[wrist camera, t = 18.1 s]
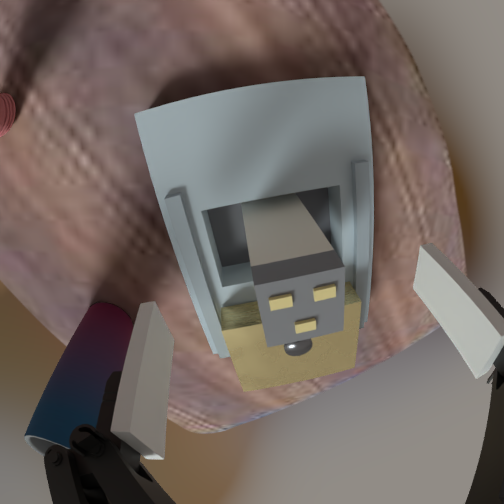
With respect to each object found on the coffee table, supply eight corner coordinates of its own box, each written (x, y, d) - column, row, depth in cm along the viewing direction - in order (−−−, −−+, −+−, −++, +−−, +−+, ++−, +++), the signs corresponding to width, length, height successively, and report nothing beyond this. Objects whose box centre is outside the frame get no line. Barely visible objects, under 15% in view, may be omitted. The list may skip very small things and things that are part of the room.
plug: (240, 203, 21) (254, 288, 12) (295, 192, 21) (346, 269, 12) (250, 250, 23) (267, 350, 14) (300, 240, 23) (344, 332, 14)
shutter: (221, 307, 22) (221, 343, 19) (349, 281, 22) (367, 312, 19) (241, 370, 26) (244, 402, 23) (346, 347, 26) (358, 377, 22)
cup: (155, 335, 27) (132, 478, 14) (108, 351, 28) (76, 474, 15) (113, 284, 24) (54, 436, 11) (67, 307, 25) (10, 433, 12)
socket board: (147, 111, 17) (131, 114, 14) (346, 78, 17) (369, 75, 14) (213, 330, 27) (213, 359, 24) (355, 301, 27) (369, 325, 24)
